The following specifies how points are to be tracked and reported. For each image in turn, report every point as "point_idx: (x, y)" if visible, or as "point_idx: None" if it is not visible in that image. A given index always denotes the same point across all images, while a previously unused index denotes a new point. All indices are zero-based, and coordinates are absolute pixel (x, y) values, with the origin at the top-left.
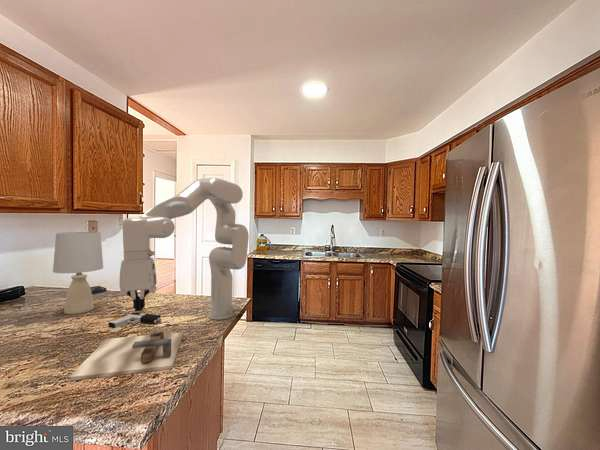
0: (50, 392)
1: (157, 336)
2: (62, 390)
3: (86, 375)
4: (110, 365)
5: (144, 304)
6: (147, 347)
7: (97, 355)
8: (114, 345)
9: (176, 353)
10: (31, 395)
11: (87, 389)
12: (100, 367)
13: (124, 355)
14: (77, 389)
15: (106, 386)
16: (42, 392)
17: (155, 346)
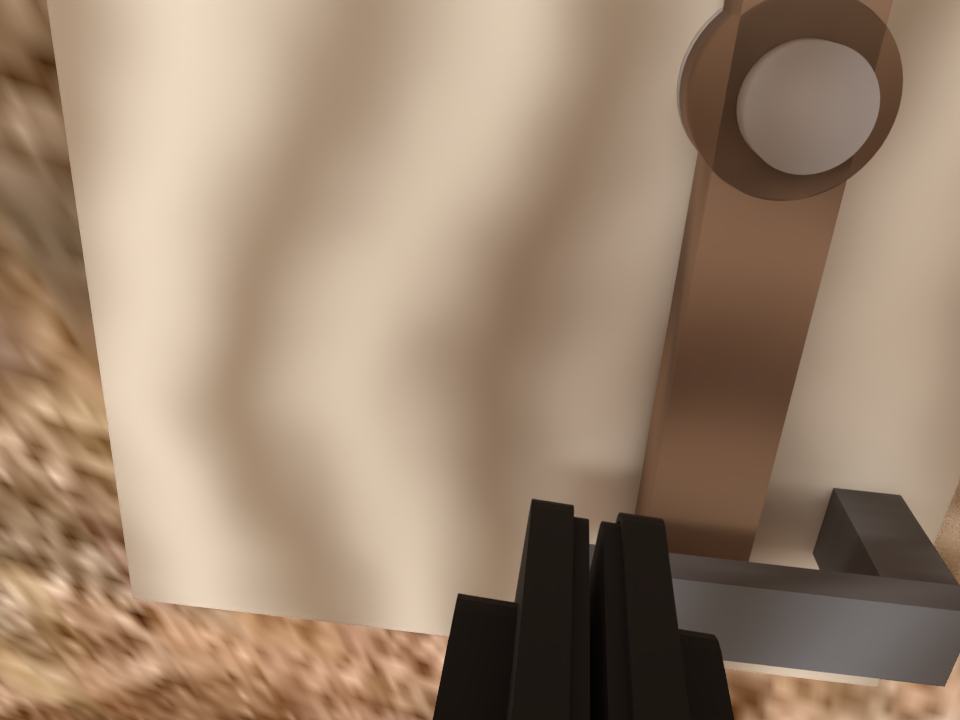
0: (113, 667)
1: (798, 208)
2: (174, 670)
3: (249, 612)
4: (373, 528)
5: (714, 694)
6: (679, 496)
7: (166, 292)
8: (242, 61)
9: (953, 477)
10: (20, 661)
11: (325, 707)
12: (302, 535)
13: (442, 381)
14: (262, 689)
15: (432, 715)
16: (63, 652)
17: (764, 494)
